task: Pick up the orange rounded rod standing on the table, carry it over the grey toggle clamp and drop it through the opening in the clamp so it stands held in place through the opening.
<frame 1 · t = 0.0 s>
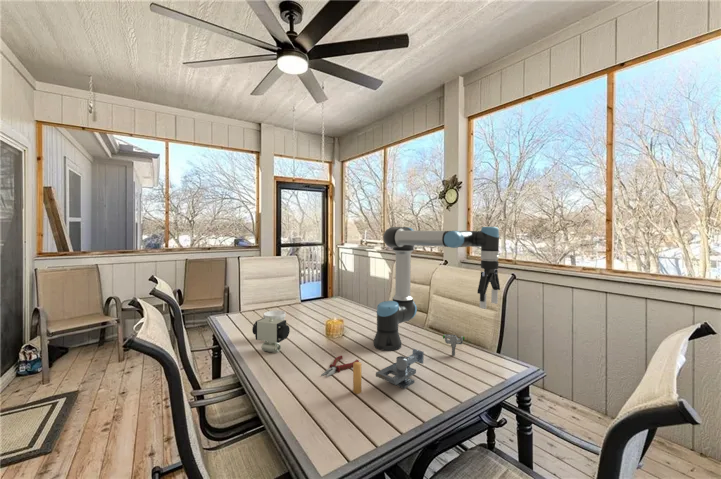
hand: (488, 305, 144), 28 cm above the table, fingers open, 13 cm apart
orange rounded rod: (357, 391, 121), on the table
cup: (274, 340, 178), on the table
grey toggle clamp: (401, 382, 128), on the table
pliers: (336, 368, 142), on the table
ball valve: (271, 351, 161), on the table
mechanical component: (453, 355, 156), on the table
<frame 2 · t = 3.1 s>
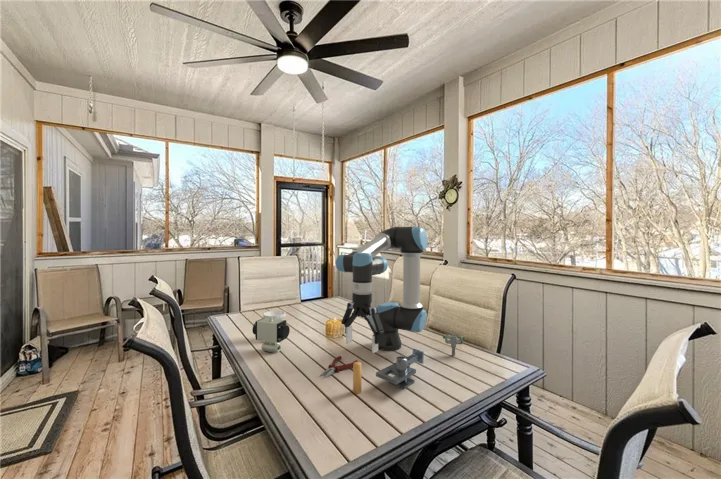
hand: (361, 347, 121), 17 cm above the table, fingers open, 13 cm apart
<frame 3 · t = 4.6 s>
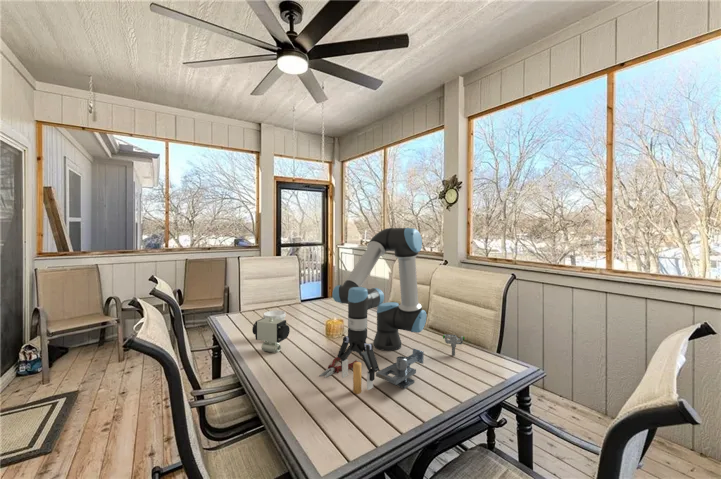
hand: (357, 382, 120), 4 cm above the table, fingers open, 13 cm apart
nothing on the table moved.
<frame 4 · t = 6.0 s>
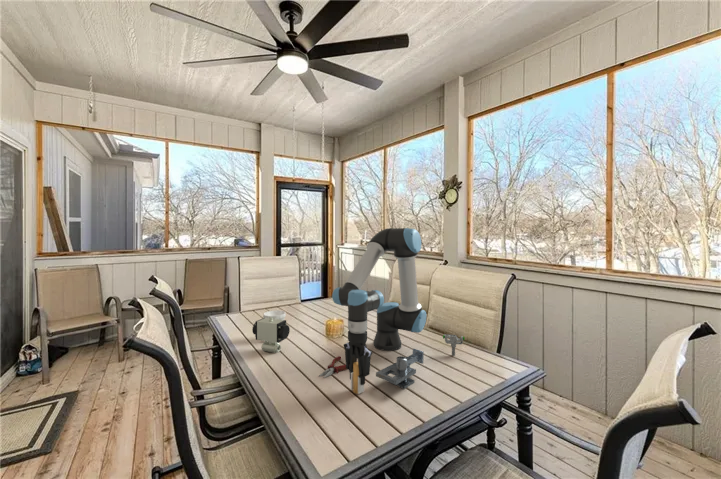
hand: (357, 390, 121), 1 cm above the table, fingers closed on orange rounded rod, 3 cm apart
orange rounded rod: (357, 391, 121), on the table, touching gripper
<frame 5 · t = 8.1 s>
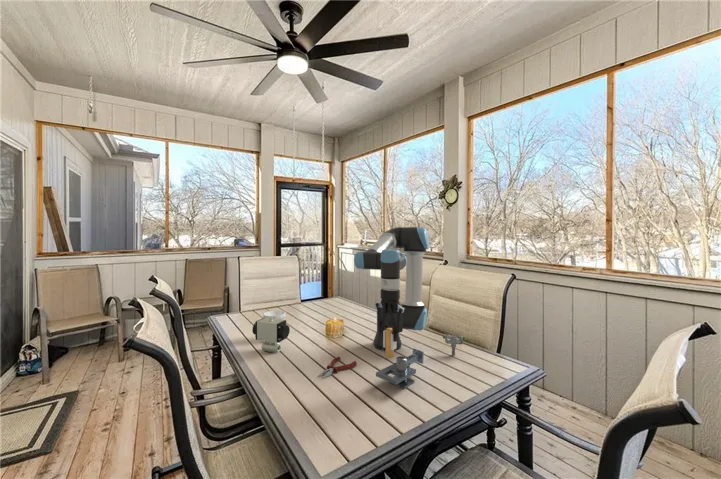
hand: (389, 347, 123), 16 cm above the table, fingers closed on orange rounded rod, 3 cm apart
orange rounded rod: (389, 356, 123), point 13 cm above the table, touching gripper
when the fingers open (7 cm above the table, at t = 10.5 s): orange rounded rod drops 3 cm, on the table.
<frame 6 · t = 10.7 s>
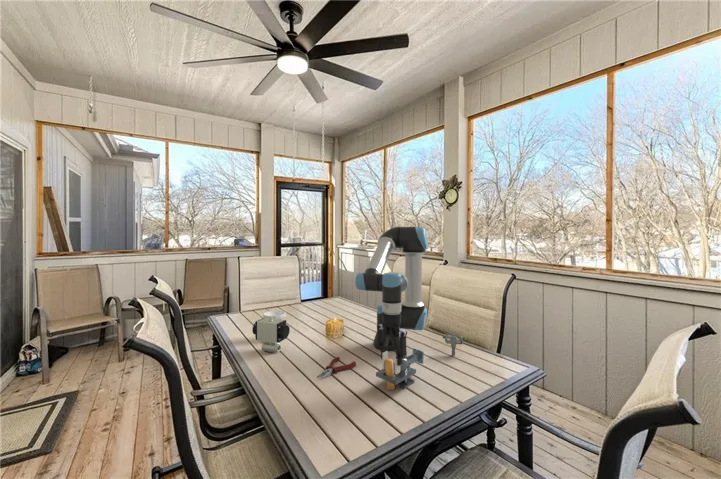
hand: (391, 370, 123), 7 cm above the table, fingers open, 5 cm apart
orange rounded rod: (390, 388, 123), on the table, tilted 5°, touching gripper
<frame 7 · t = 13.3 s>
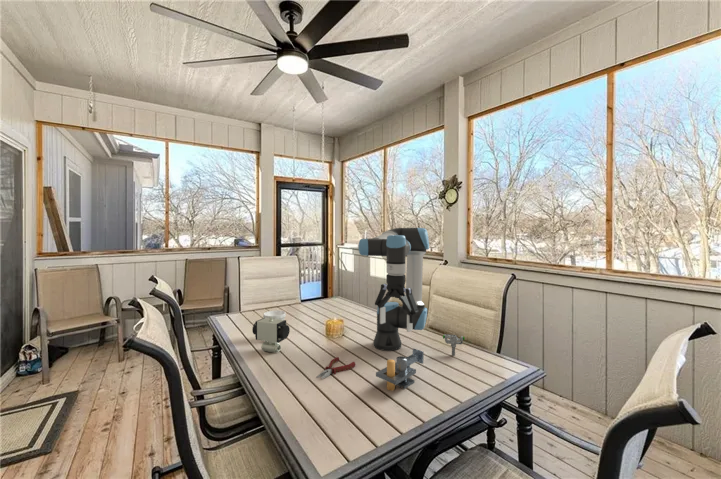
hand: (395, 326, 124), 24 cm above the table, fingers open, 13 cm apart
orange rounded rod: (390, 388, 123), on the table
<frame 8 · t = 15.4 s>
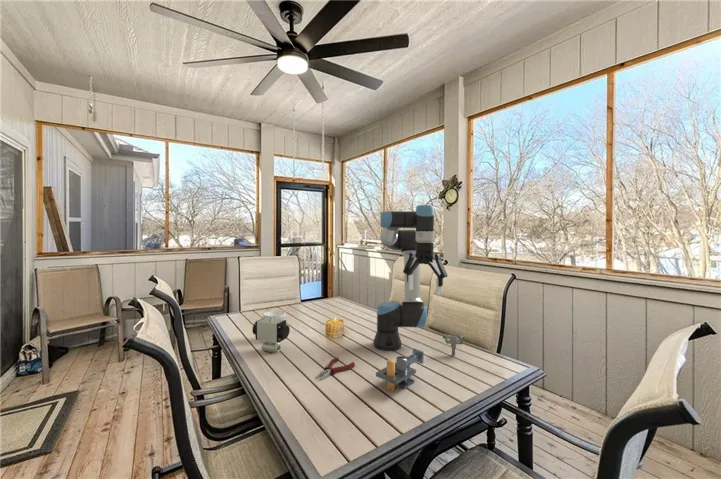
hand: (424, 292, 132), 37 cm above the table, fingers open, 13 cm apart
at the end: orange rounded rod 0.1 cm from the target spot on the grey toggle clamp, point 0.0 cm above the grey toggle clamp's base; orange rounded rod tilted 0°; the gripper is holding nothing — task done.
